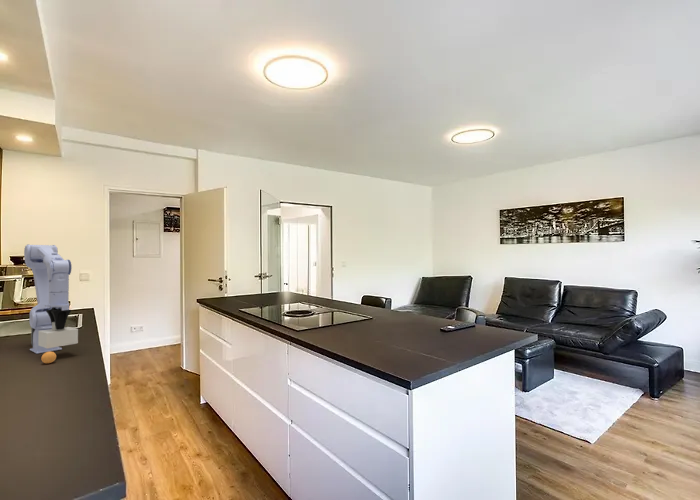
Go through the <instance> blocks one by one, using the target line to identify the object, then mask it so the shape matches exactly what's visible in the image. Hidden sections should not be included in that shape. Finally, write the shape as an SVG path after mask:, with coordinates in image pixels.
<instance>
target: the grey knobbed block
mask: <svg viewBox="0 0 700 500" xmlns="http://www.w3.org/2000/svg"><path fill="white" fill-rule="evenodd" d="M76 344H79V328H75V327H71V326H65V327H64V329H58V330H57V329H56V326H55V322H52V329H49V330H42V331H39V337H38V345H39V346H42V347H44V348H52V347H62V346H63V347H64V346H70V345H76Z"/></svg>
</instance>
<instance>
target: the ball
mask: <svg viewBox="0 0 700 500" xmlns="http://www.w3.org/2000/svg"><path fill="white" fill-rule="evenodd" d="M56 359H57V354H56V353H55V352H54V351H49V352H43V353H42V356H41V359H40V360H41V361H42V363H44V364H51V363H53V362H54V361H55V360H56Z"/></svg>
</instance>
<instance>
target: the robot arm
mask: <svg viewBox="0 0 700 500" xmlns="http://www.w3.org/2000/svg"><path fill="white" fill-rule="evenodd" d="M23 252H24V253H23V254H24V255H23V256H24V263H25V266H26V267H27V268H29V269H31V272H32V274H33V280H34V288H35V296H36V303H37V304H36V305H35V306H34V307H32V308H31V309H30V311H29V322H28V323H29V326H30V328H31V327H32V328H34V329H35V331H34V333H33V346H32V348H29V351H31V352H33V353H34V354H44V353H46V352H54V351H61V350H63V348H62V347H61V346H58V347H52V348H44V347H42V346H39V345H38V337H39V331H42V330H49V329H52V322H55V326H56V329H57V330H58V329H64V327H66V323H67V320H68V317H69V316H70V314H71V312H72V309H70V303H69V300H70V299H69V297H70V295H69V294H70V293H69V291H70V290H69V288H70V287H69V285H70V283H69V282H70V279H69V278H70V275H71V274H72V268H73V267H72V262H71V260H70V259H64V258H63V256H61V255H60V254H59V253H58V247H57V245H55V244H51V245H49V244H26V245H25V246H24V251H23Z"/></svg>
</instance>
